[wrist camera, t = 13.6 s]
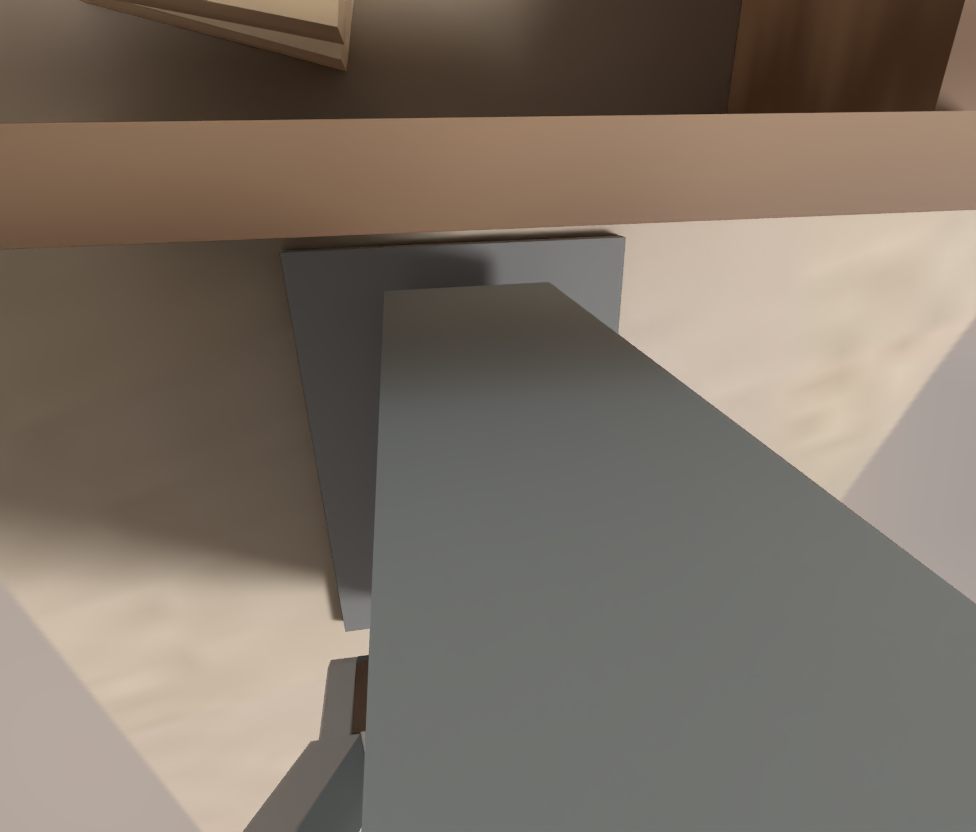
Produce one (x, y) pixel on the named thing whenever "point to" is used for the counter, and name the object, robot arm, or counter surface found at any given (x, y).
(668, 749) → the pale blue upright block
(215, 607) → the counter surface
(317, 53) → the offcut stack
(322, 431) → the rubber mat
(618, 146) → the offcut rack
